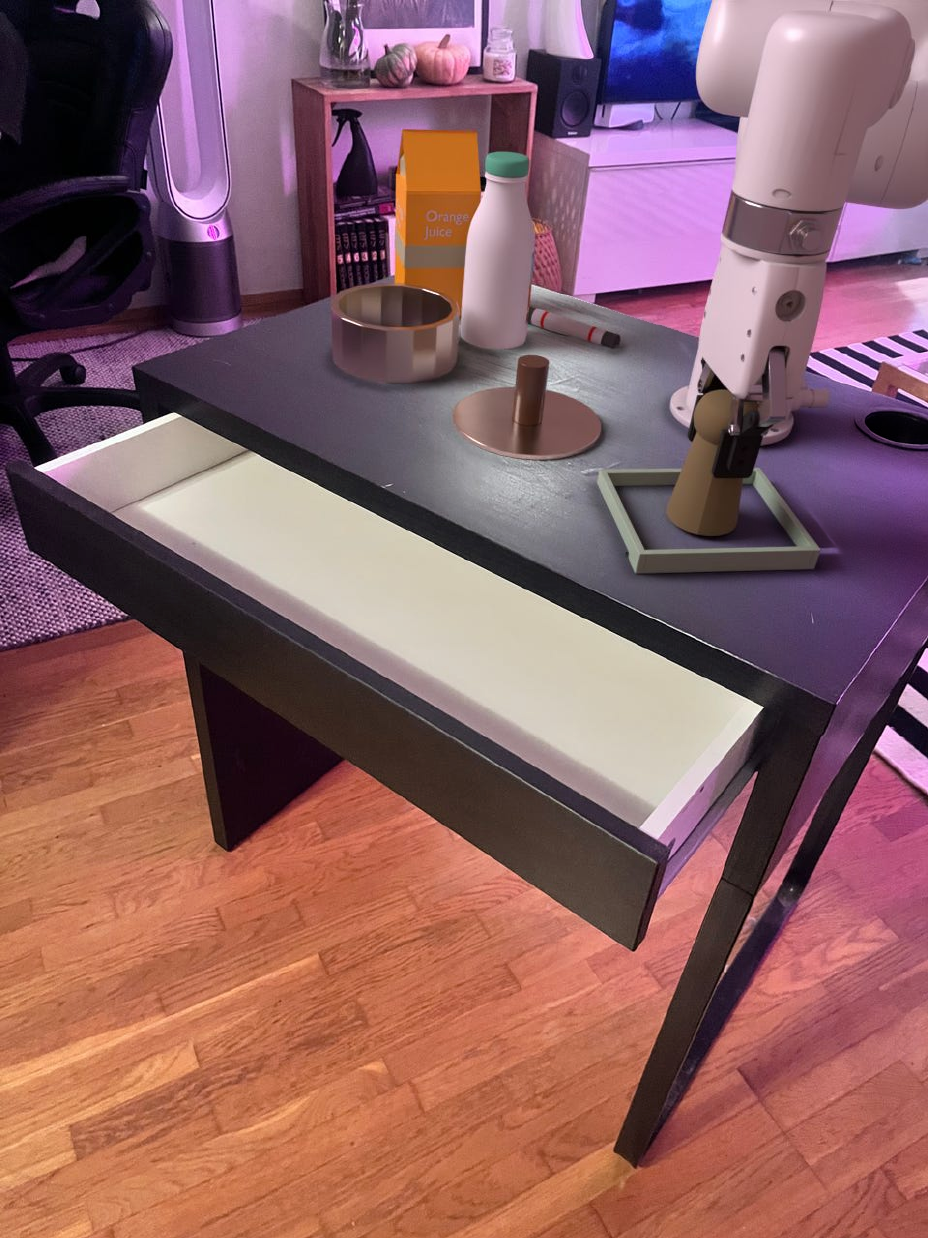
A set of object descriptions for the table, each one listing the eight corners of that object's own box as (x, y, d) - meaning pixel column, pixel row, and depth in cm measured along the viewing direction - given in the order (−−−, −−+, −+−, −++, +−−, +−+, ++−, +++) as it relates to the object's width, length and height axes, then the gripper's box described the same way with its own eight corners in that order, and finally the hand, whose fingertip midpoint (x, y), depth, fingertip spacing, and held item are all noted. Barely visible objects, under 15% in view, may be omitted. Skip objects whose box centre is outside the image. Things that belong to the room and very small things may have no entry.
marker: (618, 348, 109) (621, 332, 107) (610, 353, 107) (613, 336, 106) (512, 313, 115) (514, 297, 114) (503, 317, 114) (505, 301, 113)
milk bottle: (520, 357, 105) (539, 167, 92) (454, 348, 106) (464, 159, 93) (529, 333, 111) (549, 151, 98) (467, 324, 112) (478, 143, 99)
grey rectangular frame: (754, 485, 85) (760, 467, 84) (814, 569, 75) (821, 550, 74) (596, 487, 83) (599, 469, 82) (635, 573, 73) (639, 554, 72)
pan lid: (581, 395, 98) (591, 331, 93) (616, 464, 87) (629, 395, 82) (444, 395, 96) (448, 329, 91) (462, 466, 85) (467, 394, 80)
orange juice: (473, 316, 114) (485, 138, 101) (403, 318, 112) (406, 136, 99) (460, 294, 120) (470, 122, 107) (393, 295, 118) (395, 121, 105)
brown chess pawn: (684, 490, 82) (712, 373, 75) (747, 514, 79) (783, 396, 72) (653, 517, 78) (681, 397, 71) (719, 544, 75) (754, 422, 68)
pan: (448, 337, 108) (451, 283, 104) (462, 388, 98) (466, 330, 94) (331, 336, 106) (330, 281, 102) (333, 387, 96) (332, 328, 92)
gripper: (889, 267, 57) (803, 513, 69) (782, 193, 71) (725, 410, 82) (776, 264, 56) (708, 515, 68) (688, 190, 70) (644, 410, 81)
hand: (718, 455), depth 75 cm, fingers closed on brown chess pawn, 5 cm apart
